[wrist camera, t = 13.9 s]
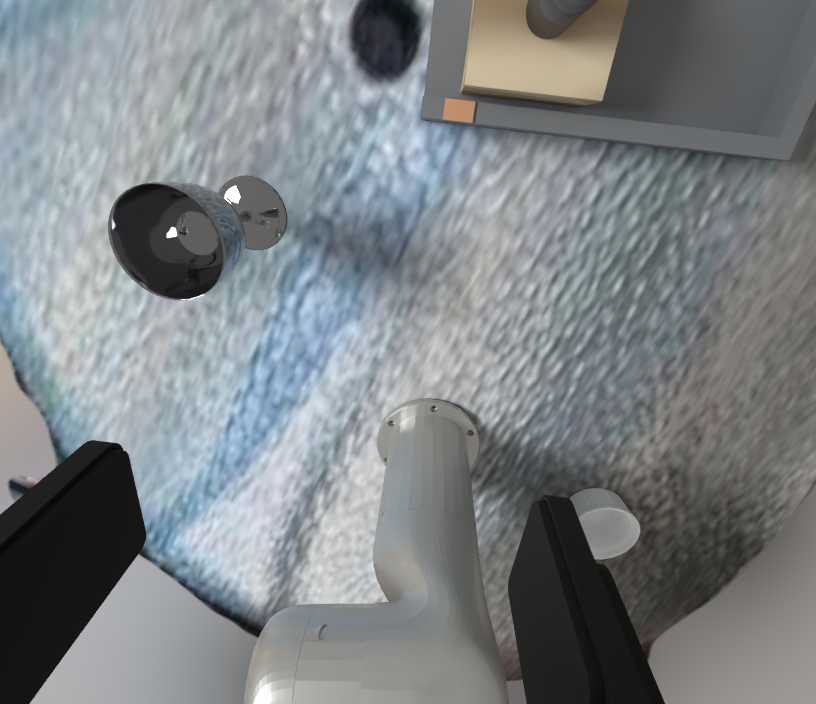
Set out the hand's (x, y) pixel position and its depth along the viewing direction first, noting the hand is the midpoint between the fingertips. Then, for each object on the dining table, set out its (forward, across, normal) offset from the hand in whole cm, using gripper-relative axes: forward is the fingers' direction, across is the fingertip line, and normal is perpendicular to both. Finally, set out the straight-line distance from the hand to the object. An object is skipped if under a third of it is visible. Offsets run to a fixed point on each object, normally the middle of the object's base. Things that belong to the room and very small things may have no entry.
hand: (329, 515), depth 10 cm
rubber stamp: (+35, -8, -17) cm, 40 cm away
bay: (+36, -15, -17) cm, 43 cm away
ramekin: (+37, -28, +33) cm, 57 cm away
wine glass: (+36, +16, 0) cm, 40 cm away
